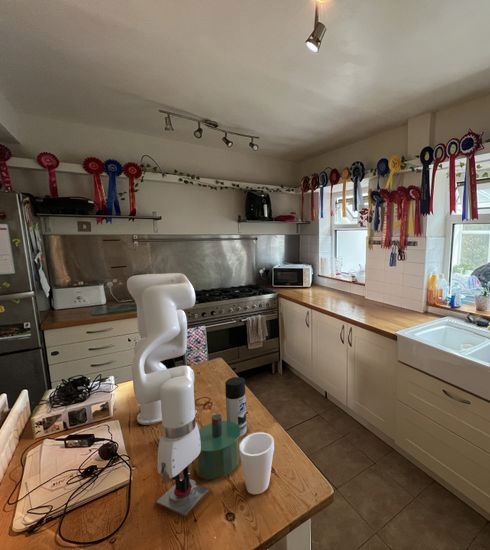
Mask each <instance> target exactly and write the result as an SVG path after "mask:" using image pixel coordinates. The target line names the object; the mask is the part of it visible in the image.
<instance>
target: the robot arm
mask: <svg viewBox="0 0 490 550" xmlns="http://www.w3.org/2000/svg"><path fill="white" fill-rule="evenodd" d="M126 289H127V291H128V293H129V295H131V298H132V299H133V300H134V302H135V305H136V318H137V319H136V320H137V322H136V323H137V332H138V334H139V335H140V337H142V339H139V340H138V341H137V342H136V343H135V344H134V347H133V354H134V356H133V359H132V363H131V376H132V378H131V379H132V385H133V386H132V387H133V393H134V394H133V395H134V397H135V400H136V401H137V402H138V403H137V404H136V408H139V410H140V412H139V413H138V414H137V416H136V421H137V423H138V424H140V425H145V426H146V425H147V426H151V425H153V424H157V423H160V422H161V425H162V426H161V427H162V435H161V436H160V438H159V441H158V448H157V474H158V475H162V478H161V483H162V484H165V485H168V484H169V483H171V482H172V481H175V482H174V485H175V484H176V490H177V491H181V492H183V493H185V492H186V491H187V490H188V489H189V488H190V480H189V479H190V474H191V473H192V468H193V465H194V463H195V459H196V458H197V457H198V456H199V454H200V451H201V442H200V434H199V430H200V429H199V426H198V423H197V422H196V416H197V415H198V412H197V410H196V407H195V406H196V405H195V386H194V384H195V379H196V378H195V372H194V369H192V368H191V367H190V366H189V365H179V366H174V367H171V368H168V367H166V365H164V363H162V362H163V361H165V360H170V359H171V360H172V359H175V358H179V357H182V356H184V355H185V354H186V352H187V348H188V318H187V315H186V313H185V311H184V310H186V309H191V308H193V307H194V306H195V305H196V292H195V289H194V287H193V285H192V283H191V282H190V280H189V279H188V277H187V276H186V275H185V274H184V273H181V272H170V273H169V272H167V273H147V274H136V275H132V276H130V277H129V278H128V279H127V281H126Z"/></svg>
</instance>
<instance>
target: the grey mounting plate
mask: <svg viewBox="0 0 490 550" xmlns="http://www.w3.org/2000/svg"><path fill="white" fill-rule="evenodd" d="M189 480H190V491H189V492H188V493H187V494H185V495H183V496H176V495H175V490H176V484H175V483H174V484H173V485H172V486H171V487H170V488H169V489H168V490H167V491H166V492H164V493H163V494H162V495H161V496H160V497H159V498H158V499H157V500H156V502H155V503H156V505H157V506H160V507H163V508H165V509H167V510H168V511H171V512H174V513H176V514H177V515H180V516H182V517H184V518H185V517H187V516H188V515H189V514H190V512H191V511H193V509H194V508H195V507H196V506H197V505H198V504H199V503H200V502H201V501H202V500H203V498H205V496H206V495H207V494H208V493H209V492H210V488H208V487H205V486H203V485H200V484H197V482H196V480H194V479H191V478H189Z"/></svg>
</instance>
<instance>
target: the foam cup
mask: <svg viewBox="0 0 490 550" xmlns="http://www.w3.org/2000/svg"><path fill="white" fill-rule="evenodd" d="M274 451H275V440H274V437H273V436H272V435H271V433H267V432H264V431H262V432H261V431H259V432H252V433H250V434H248V435H247V436H245V437H243V439H242V440H241V441H240V442H239V459H240V461H241V467H242V472H243V477H244V483H245V489H246V491H247V493H249V494H251V495H259V494H262V493H264V492H265V491H266V490H267V489H268V488H269V485H270V481H271V473H272V467H273V464H272V463H273V457H274Z"/></svg>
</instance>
